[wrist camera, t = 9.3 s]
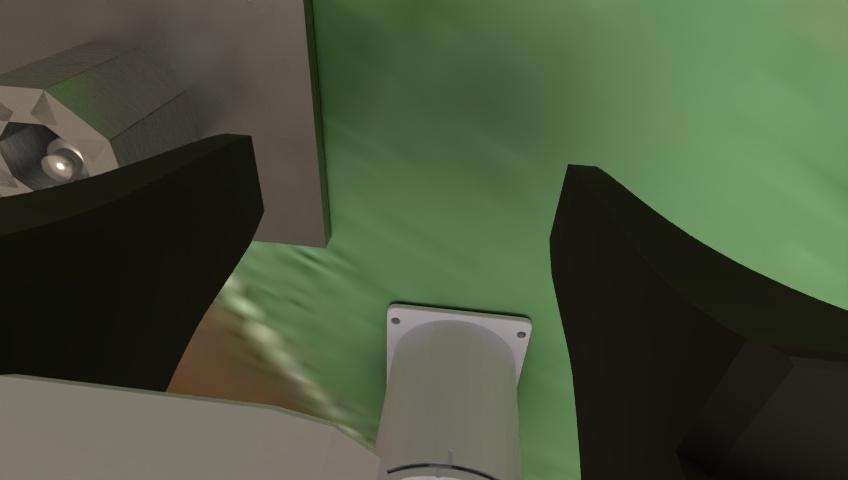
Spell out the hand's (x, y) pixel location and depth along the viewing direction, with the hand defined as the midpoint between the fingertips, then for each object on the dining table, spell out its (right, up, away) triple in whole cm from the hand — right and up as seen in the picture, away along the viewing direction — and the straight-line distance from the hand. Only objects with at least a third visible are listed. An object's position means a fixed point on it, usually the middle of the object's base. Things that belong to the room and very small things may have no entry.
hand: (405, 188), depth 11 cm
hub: (-12, +4, +10) cm, 16 cm away
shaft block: (-12, +5, +11) cm, 17 cm away
